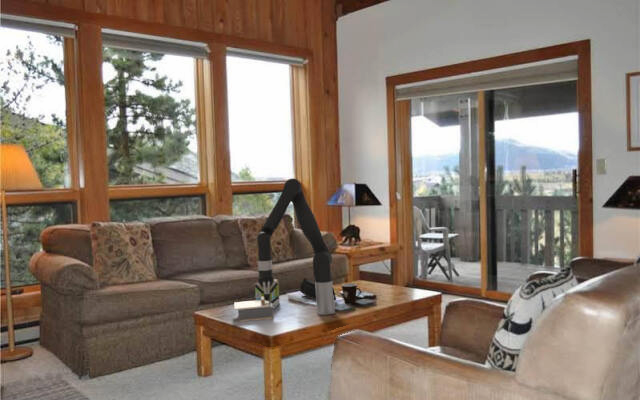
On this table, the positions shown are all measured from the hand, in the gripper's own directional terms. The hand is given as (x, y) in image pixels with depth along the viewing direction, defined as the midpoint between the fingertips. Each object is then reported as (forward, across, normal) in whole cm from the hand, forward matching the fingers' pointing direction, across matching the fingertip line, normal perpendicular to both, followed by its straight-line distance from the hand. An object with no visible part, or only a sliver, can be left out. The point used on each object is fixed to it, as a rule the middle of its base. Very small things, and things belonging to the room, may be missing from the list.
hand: (267, 300), depth 300 cm
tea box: (+8, +1, +19) cm, 21 cm away
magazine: (+8, +31, +28) cm, 43 cm away
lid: (+2, -8, 0) cm, 9 cm away
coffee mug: (+8, +48, +11) cm, 50 cm away
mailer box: (+8, -7, 0) cm, 11 cm away
